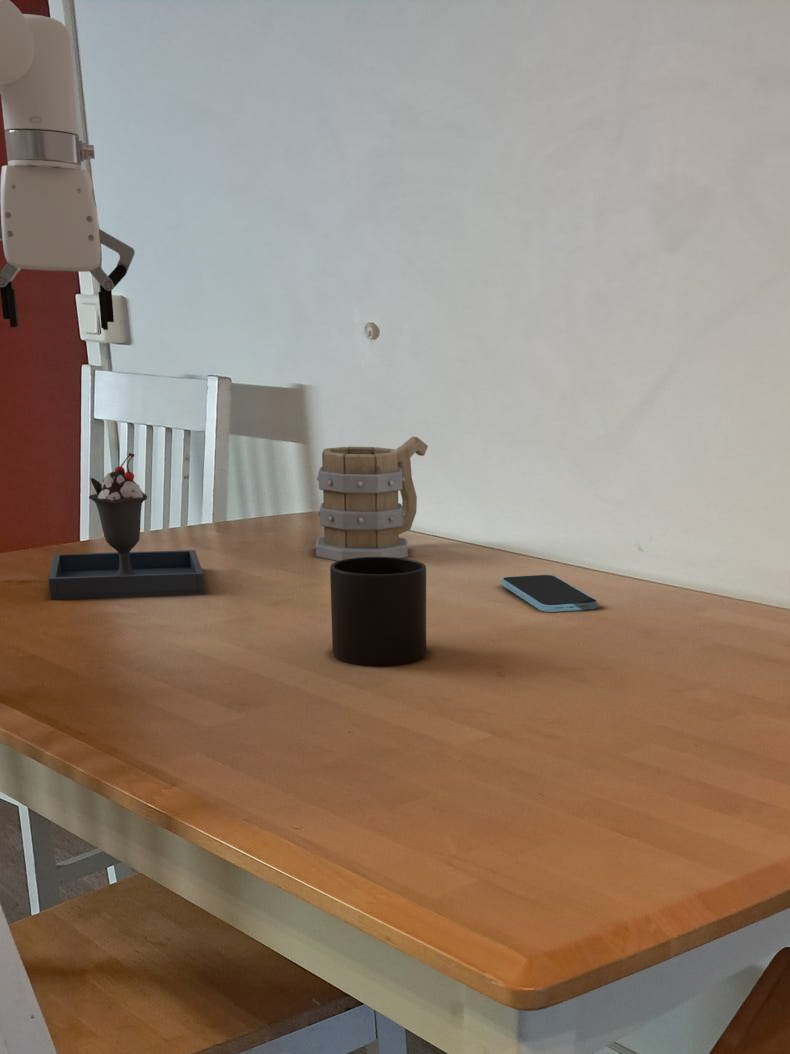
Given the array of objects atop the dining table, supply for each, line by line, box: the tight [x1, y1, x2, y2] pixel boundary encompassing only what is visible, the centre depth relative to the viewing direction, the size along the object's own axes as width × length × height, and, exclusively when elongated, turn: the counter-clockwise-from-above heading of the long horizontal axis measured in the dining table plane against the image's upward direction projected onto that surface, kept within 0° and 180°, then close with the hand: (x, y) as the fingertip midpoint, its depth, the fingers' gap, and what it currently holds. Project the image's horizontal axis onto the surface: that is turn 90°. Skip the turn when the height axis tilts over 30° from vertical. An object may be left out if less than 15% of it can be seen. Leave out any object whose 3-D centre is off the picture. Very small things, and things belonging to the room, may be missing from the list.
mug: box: [329, 557, 427, 667], centre depth 128 cm, size 9×12×9 cm
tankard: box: [315, 436, 429, 562], centre depth 178 cm, size 20×13×15 cm, turn 139°
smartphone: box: [501, 574, 598, 613], centre depth 154 cm, size 7×1×15 cm
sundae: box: [88, 452, 148, 575], centre depth 154 cm, size 7×7×15 cm
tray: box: [48, 549, 206, 601], centre depth 157 cm, size 18×16×3 cm
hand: (60, 328), depth 142 cm, fingers open, 9 cm apart
